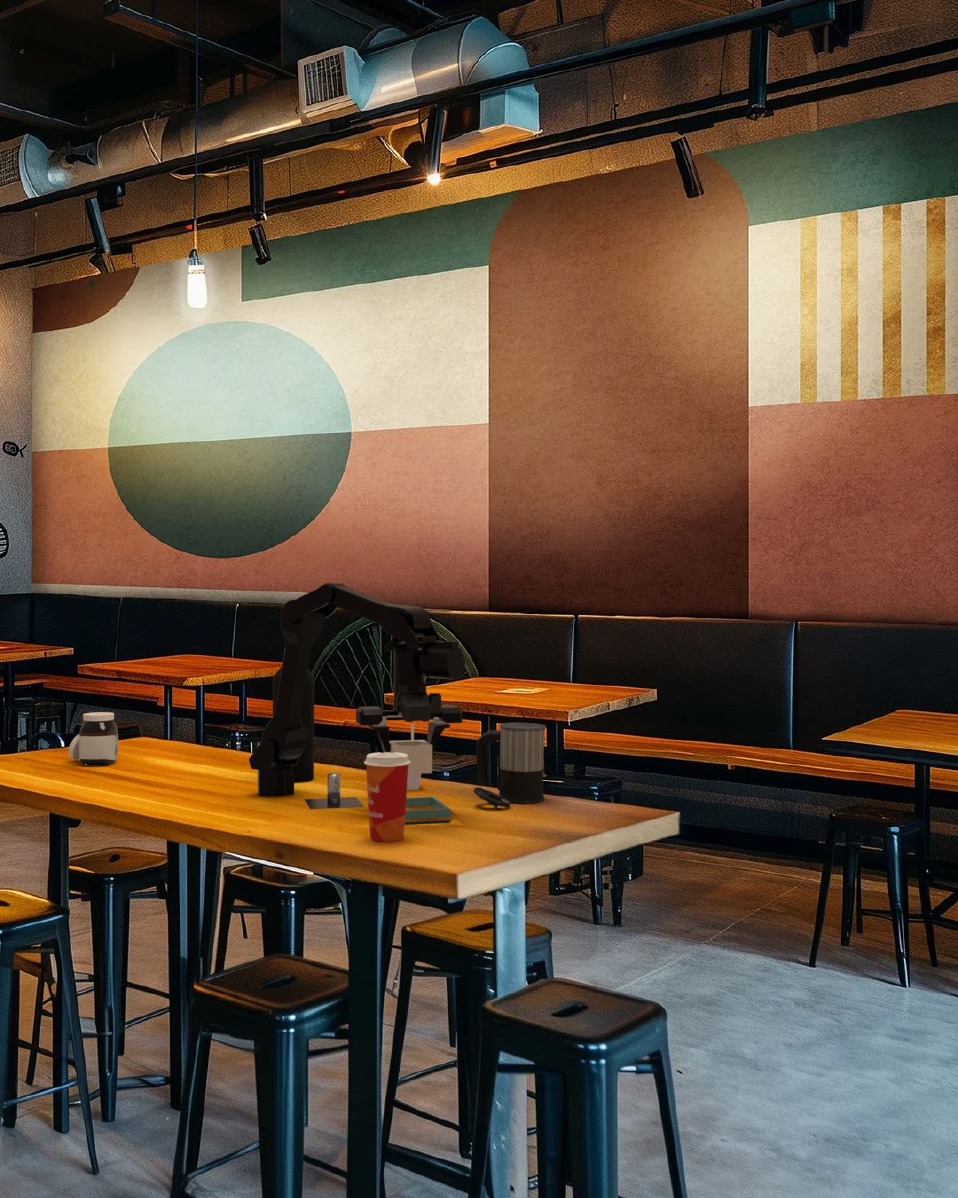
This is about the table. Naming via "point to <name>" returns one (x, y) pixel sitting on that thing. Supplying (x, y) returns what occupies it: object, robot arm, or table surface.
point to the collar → (415, 754)
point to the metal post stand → (333, 796)
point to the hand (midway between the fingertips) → (408, 762)
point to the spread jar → (96, 740)
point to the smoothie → (413, 779)
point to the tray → (426, 810)
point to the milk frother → (513, 764)
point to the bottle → (306, 761)
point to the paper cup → (387, 795)
